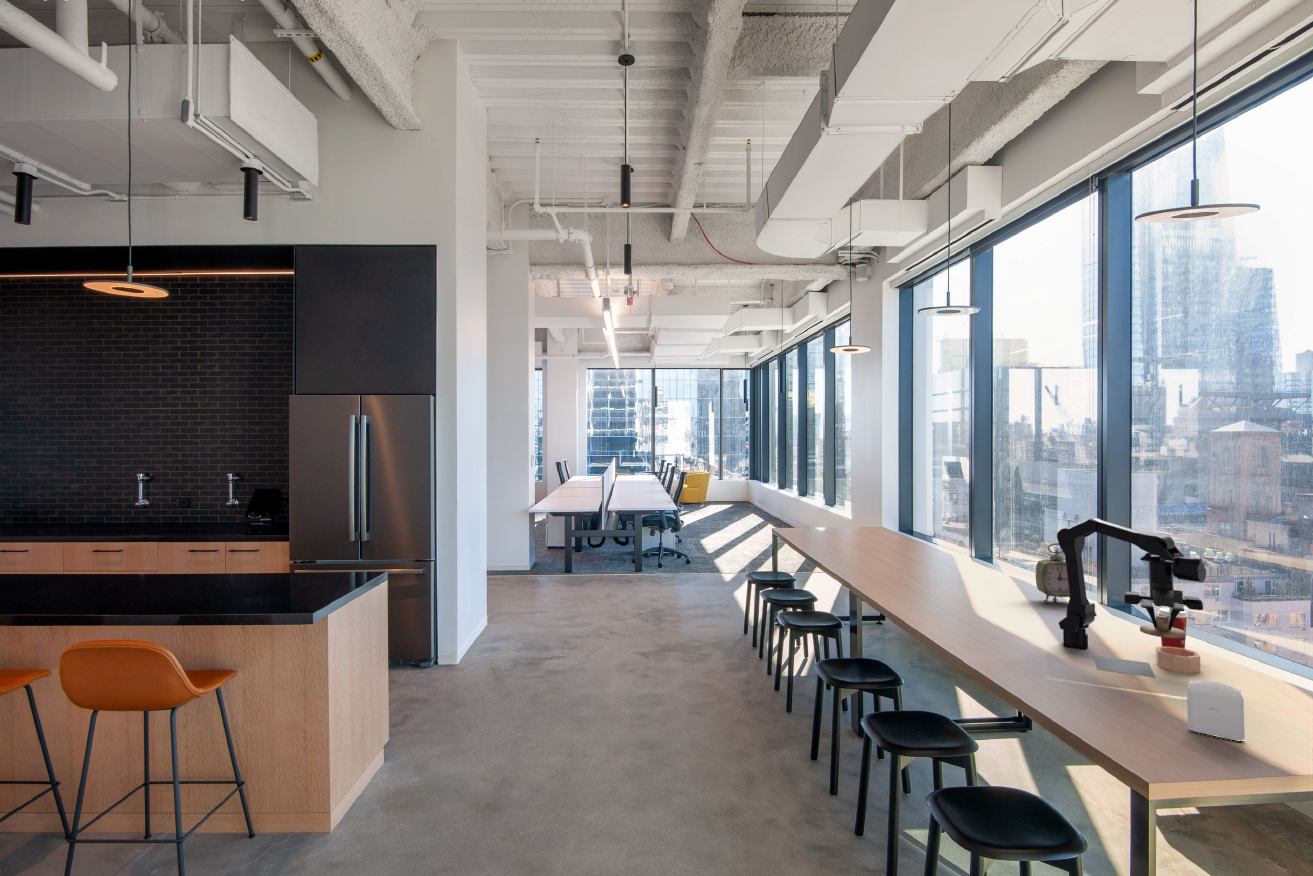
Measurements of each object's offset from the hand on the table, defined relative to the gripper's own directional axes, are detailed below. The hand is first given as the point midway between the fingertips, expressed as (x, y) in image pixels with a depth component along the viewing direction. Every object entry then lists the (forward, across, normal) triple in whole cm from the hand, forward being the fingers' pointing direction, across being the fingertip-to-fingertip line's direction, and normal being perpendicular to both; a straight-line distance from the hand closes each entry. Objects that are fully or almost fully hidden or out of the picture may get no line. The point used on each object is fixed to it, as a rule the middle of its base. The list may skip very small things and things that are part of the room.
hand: (1162, 629), depth 199 cm
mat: (+12, -10, -5) cm, 16 cm away
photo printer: (+13, +5, -48) cm, 50 cm away
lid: (+1, 0, 0) cm, 1 cm away
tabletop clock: (+11, -29, +76) cm, 82 cm away
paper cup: (+12, +4, +19) cm, 23 cm away
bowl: (+12, +4, +3) cm, 13 cm away
